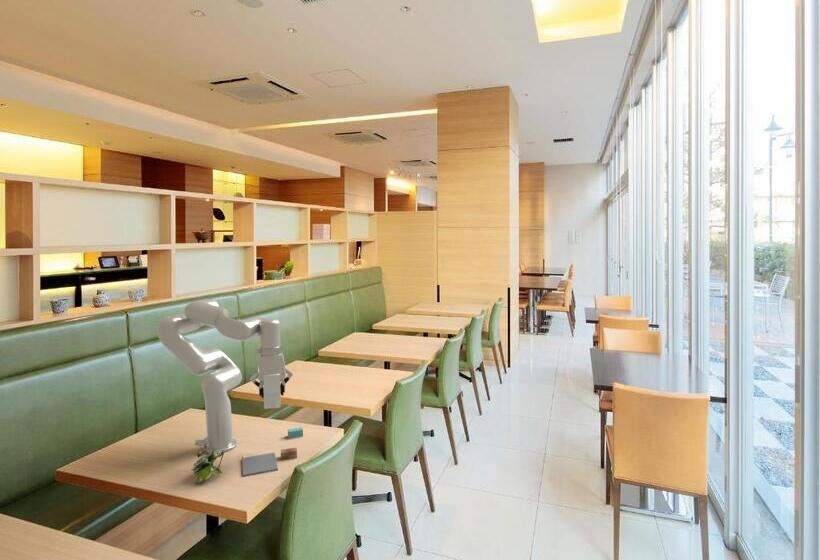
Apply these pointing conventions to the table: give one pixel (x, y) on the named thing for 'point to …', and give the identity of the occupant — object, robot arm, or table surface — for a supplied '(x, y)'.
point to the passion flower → (206, 465)
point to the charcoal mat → (259, 464)
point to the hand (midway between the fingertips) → (272, 395)
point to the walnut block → (288, 453)
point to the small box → (272, 391)
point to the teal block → (295, 432)
